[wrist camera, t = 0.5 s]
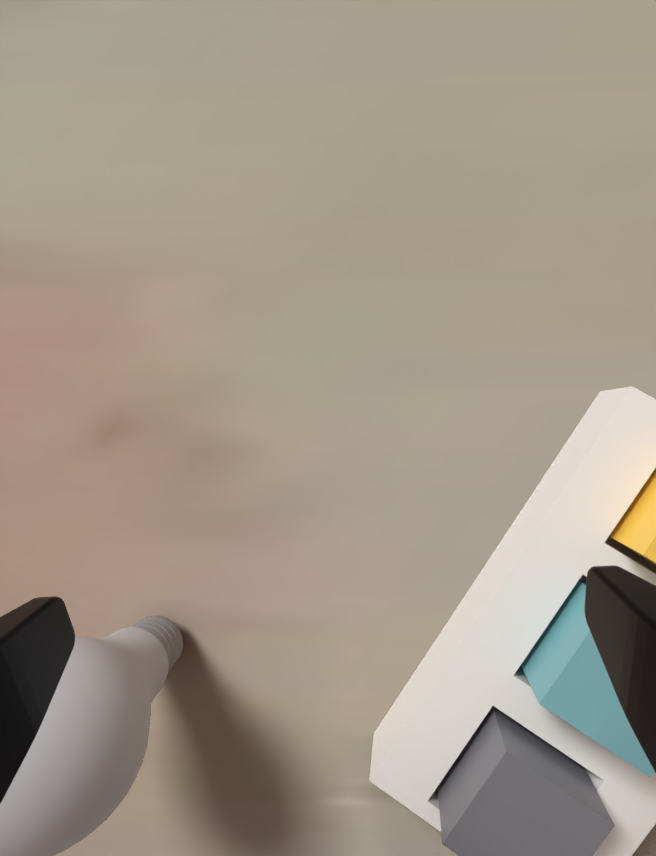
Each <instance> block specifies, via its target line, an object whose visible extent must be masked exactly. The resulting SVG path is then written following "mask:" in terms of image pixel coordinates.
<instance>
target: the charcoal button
mask: <svg viewBox="0 0 656 856" xmlns="http://www.w3.org/2000/svg"><path fill="white" fill-rule="evenodd" d="M437 789H438V800H439V811H440V822H441V833H442V844H444V845H445V846H446V847H448V848H449V849H450V850H452V851H453V852H455V853H456V854H457V855H459V856H593V855H594V854H595V852H596V851H597V849H598V848H599V847H600V845H601V844H602V843H603V841H604V840H605V838H606V837H607V836H608V834H609V833H610V832H611V830H612V829H613V828H614V826H615V825H614V823H613V821H612V819H611V817H610V815H609V814H608V812H607V810H606V808H605V806H604V804H603V802H602V800H601V798H600V796H599V794H598V793H597V791H596V789H595V787H594V785H593V783H592V781H591V779H590V777H589V775H588V773H587V772H586V770H585V768H584V767H583V766H582V765H580V764H579V763H577V762H576V761H574V760H573V759H571V758H570V757H568V756H567V755H565V754H564V753H563V752H561V751H560V750H558V749H557V748H555V747H554V746H552V745H551V744H549V743H548V742H546V741H545V740H543V739H542V738H540V737H539V736H537V735H536V734H534V733H533V732H531V731H530V730H528V729H527V728H525V727H524V726H522V725H521V724H519V723H518V722H517V721H515V720H514V719H512V718H511V717H509V716H508V715H506V714H505V713H503V712H502V711H500V710H499V709H497V708H496V707H494V706H492V708H491V709H490V711H489V712H488V714H487V715H486V716H485V718H484V719H483V721H482V722H481V724H480V725H479V727H478V728H477V730H476V731H475V733H474V734H473V735H472V737H471V738H470V740H469V741H468V743H467V744H466V746H465V747H464V749H463V750H462V752H461V753H460V755H459V756H458V757H457V759H456V760H455V762H454V763H453V765H452V766H451V768H450V769H449V771H448V772H447V774H446V775H445V776H444V778H443V779H442V781H441V782H440V784H439V785H438V787H437Z"/></svg>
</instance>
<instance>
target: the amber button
mask: <svg viewBox="0 0 656 856" xmlns="http://www.w3.org/2000/svg"><path fill="white" fill-rule="evenodd" d="M609 537H611V538H612V539H614V540H616V541H617V542H619V543H621V544H622V545H624V546H626V547H627V548H629V549H631V550H632V551H634V552H635V553H637V554H639V555H640V556H642V557H644V558H645V559H647V560H649V561H650V562H652V563H654V564H655V565H656V468H655V469H654V471H653V472H652V474H651V475H650V477H649V478H648V480H647V481H646V483H645V484H644V485H643V487H642V488H641V490H640V491H639V493H638V494H637V496H636V497H635V499H634V500H633V502H632V503H631V504H630V506H629V507H628V509H627V510H626V512H625V513H624V515H623V516H622V518H621V519H620V521H619V522H618V523H617V525H616V526H615V528H614V529H613V531H612V532H611V534H610V535H609Z"/></svg>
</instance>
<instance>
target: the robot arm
mask: <svg viewBox="0 0 656 856" xmlns="http://www.w3.org/2000/svg"><path fill="white" fill-rule="evenodd" d="M584 611H585V618H586V622H587V625H588V627H589V630H590V632H591V634H592V637H593V639H594V642H595V644H596V647H597V649H598V651H599V654H600V656H601V659H602V661H603V664H604V666H605V668H606V671H607V673H608V676H609V678H610V681H611V683H612V685H613V688H614V690H615V693H616V695H617V698H618V700H619V702H620V705H621V707H622V709H623V711H624V714H625V716H626V718H627V720H628V722H629V724H630V726H631V728H632V730H633V732H634V734H635V736H636V738H637V739H638V741H639V743H640V745H641V747H642V749H643V751H644V752H645V754H646V756H647V758H648V760H649V762H650V764H651V766H652V767H653V769H654V771H655V773H656V585H654V584H652V583H650V582H648V581H646V580H644V579H642V578H640V577H638V576H636V575H635V574H633V573H631V572H629V571H627V570H625V569H623V568H621V567H619V566H615V565H610V566H593V567H591V568H590V569H589V570H588V573H587V580H586V593H585V606H584ZM74 644H75V633H74V629H73V626H72V623H71V621H70V618H69V615H68V612H67V609H66V606H65V603H64V601H63V600H62V599H61V598H59V597H39V598H35V599H32V600H31V601H29V602H27V603H25V604H23V605H22V606H20V607H18V608H16V609H14V610H13V611H11V612H9V613H7V614H5V615H3V616H2V617H0V804H1V802H2V800H3V798H4V796H5V795H6V793H7V791H8V789H9V787H10V785H11V783H12V781H13V779H14V778H15V776H16V774H17V772H18V770H19V768H20V766H21V764H22V762H23V760H24V759H25V757H26V755H27V753H28V751H29V749H30V747H31V745H32V743H33V741H34V739H35V737H36V735H37V733H38V731H39V728H40V726H41V724H42V722H43V719H44V717H45V715H46V712H47V710H48V708H49V705H50V703H51V700H52V698H53V696H54V693H55V691H56V688H57V686H58V684H59V681H60V679H61V677H62V674H63V672H64V669H65V667H66V665H67V662H68V660H69V658H70V655H71V653H72V650H73V648H74Z"/></svg>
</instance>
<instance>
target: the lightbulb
mask: <svg viewBox="0 0 656 856" xmlns="http://www.w3.org/2000/svg"><path fill="white" fill-rule="evenodd" d="M182 650H183V638H182V634H181V632H180V630H179V628H178V627H177V625H176V624H175V623H174V622H173V621H171V620H170V619H168V618H166V617H163V616H150V617H147V618H145V619H143V620H141V621H139V622H138V623H136V624H135V625H133V626H132V627H127V628H123V629H119V630H118V631H116V632H114V633H112V634H110V635H109V636H107V637H104V638H101V639H93V638H88V637H75V644H74V648H73V650H72V653H71V655H70V658H69V660H68V662H67V665H66V667H65V669H64V672H63V674H62V677H61V679H60V681H59V684H58V686H57V688H56V691H55V693H54V696H53V698H52V700H51V703H50V705H49V708H48V710H47V712H46V715H45V717H44V719H43V722H42V724H41V726H40V728H39V731H38V733H37V735H36V737H35V739H34V741H33V743H32V745H31V747H30V749H29V751H28V753H27V755H26V757H25V759H24V760H23V762H22V764H21V766H20V768H19V770H18V772H17V774H16V776H15V778H14V779H13V781H12V783H11V785H10V787H9V789H8V791H7V793H6V795H5V796H4V798H3V800H2V802H1V804H0V856H53V855H55V854H58V853H60V852H62V851H64V850H66V849H68V848H70V847H71V846H73V845H74V844H76V843H78V842H79V841H81V840H82V839H83V838H85V837H86V836H87V835H89V834H90V833H92V832H93V831H94V830H95V829H96V828H97V827H99V826H100V825H101V824H102V823H103V822H104V821H105V820H107V818H108V817H109V816H110V815H111V814H112V812H113V811H114V810H115V809H116V808H117V807H118V805H119V804H120V803H121V801H122V800H123V799H124V797H125V796H126V795H127V793H128V791H129V789H130V788H131V786H132V784H133V782H134V780H135V778H136V776H137V773H138V771H139V769H140V766H141V764H142V762H143V758H144V755H145V752H146V748H147V743H148V735H149V727H150V716H151V703H152V701H153V699H154V697H155V696H156V694H157V693H158V692H159V691H160V689H161V688H162V686H163V685H164V683H165V681H166V677H167V674H168V672H169V671H170V670H171V669H172V667H173V666H174V665H175V663H176V662H177V660H178V659H179V658H180V656H181V653H182Z"/></svg>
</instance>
